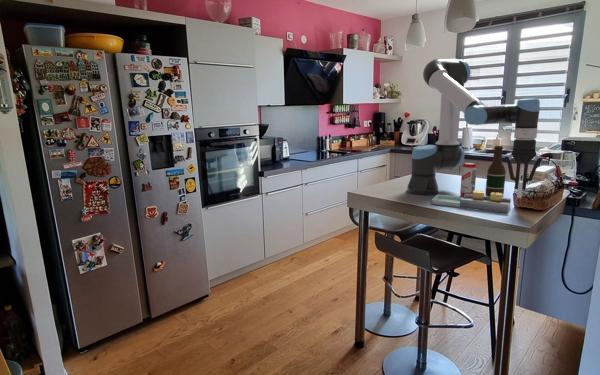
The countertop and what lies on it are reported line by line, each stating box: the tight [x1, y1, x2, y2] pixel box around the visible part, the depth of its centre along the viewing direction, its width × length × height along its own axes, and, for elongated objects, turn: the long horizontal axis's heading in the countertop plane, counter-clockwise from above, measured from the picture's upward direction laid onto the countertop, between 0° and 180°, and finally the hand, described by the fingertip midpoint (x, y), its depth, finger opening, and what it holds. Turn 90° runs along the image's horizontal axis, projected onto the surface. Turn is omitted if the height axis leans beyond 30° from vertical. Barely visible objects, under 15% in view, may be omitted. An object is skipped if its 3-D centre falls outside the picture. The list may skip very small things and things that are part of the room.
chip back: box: [472, 190, 485, 201], centre depth 156 cm, size 4×4×4 cm
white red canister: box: [459, 161, 477, 197], centre depth 172 cm, size 6×6×16 cm
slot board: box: [460, 194, 512, 214], centre depth 155 cm, size 18×11×4 cm, turn 56°
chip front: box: [490, 192, 504, 203], centre depth 152 cm, size 4×4×4 cm
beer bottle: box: [484, 145, 507, 198], centre depth 169 cm, size 8×8×24 cm
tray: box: [430, 193, 464, 209], centre depth 163 cm, size 12×12×2 cm
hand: (519, 197), depth 147 cm, fingers closed
